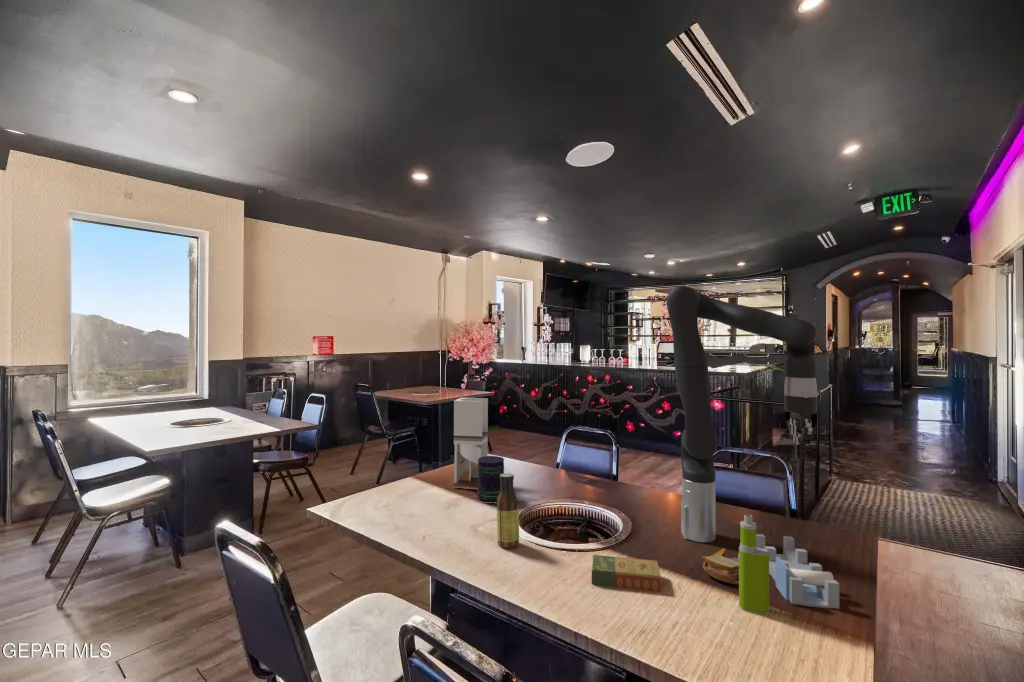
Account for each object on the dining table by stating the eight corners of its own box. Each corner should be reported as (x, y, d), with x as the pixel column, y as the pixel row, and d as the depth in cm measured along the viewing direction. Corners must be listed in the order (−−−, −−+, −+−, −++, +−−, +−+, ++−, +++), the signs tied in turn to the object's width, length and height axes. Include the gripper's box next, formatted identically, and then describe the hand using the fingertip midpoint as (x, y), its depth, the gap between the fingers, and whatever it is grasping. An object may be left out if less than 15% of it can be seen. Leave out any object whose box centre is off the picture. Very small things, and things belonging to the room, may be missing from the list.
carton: (661, 594, 108) (661, 575, 108) (591, 586, 111) (591, 568, 111) (657, 576, 116) (657, 559, 116) (592, 569, 119) (592, 553, 119)
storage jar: (503, 504, 167) (503, 462, 167) (476, 503, 167) (476, 462, 168) (504, 495, 177) (504, 456, 177) (478, 495, 177) (478, 455, 178)
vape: (737, 600, 104) (737, 511, 105) (768, 606, 102) (768, 515, 102) (738, 609, 101) (738, 516, 101) (770, 615, 99) (770, 521, 99)
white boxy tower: (453, 488, 185) (454, 400, 185) (460, 481, 196) (461, 397, 196) (481, 490, 183) (481, 401, 184) (487, 482, 194) (487, 398, 194)
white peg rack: (788, 604, 103) (788, 572, 103) (752, 553, 128) (752, 528, 128) (839, 609, 101) (839, 576, 101) (792, 557, 126) (792, 531, 126)
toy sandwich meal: (769, 579, 114) (768, 560, 114) (731, 592, 108) (731, 572, 108) (725, 559, 126) (725, 541, 126) (689, 569, 119) (689, 551, 120)
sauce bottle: (523, 544, 133) (523, 475, 134) (508, 551, 129) (508, 479, 129) (507, 537, 138) (507, 470, 138) (492, 544, 133) (492, 474, 134)
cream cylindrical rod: (786, 583, 106) (784, 569, 107) (781, 580, 109) (780, 566, 110) (834, 588, 104) (833, 573, 105) (828, 584, 107) (827, 570, 108)
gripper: (776, 391, 133) (776, 452, 133) (795, 396, 120) (795, 463, 120) (805, 392, 131) (805, 453, 131) (827, 397, 118) (827, 465, 118)
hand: (800, 458), depth 125 cm, fingers closed
